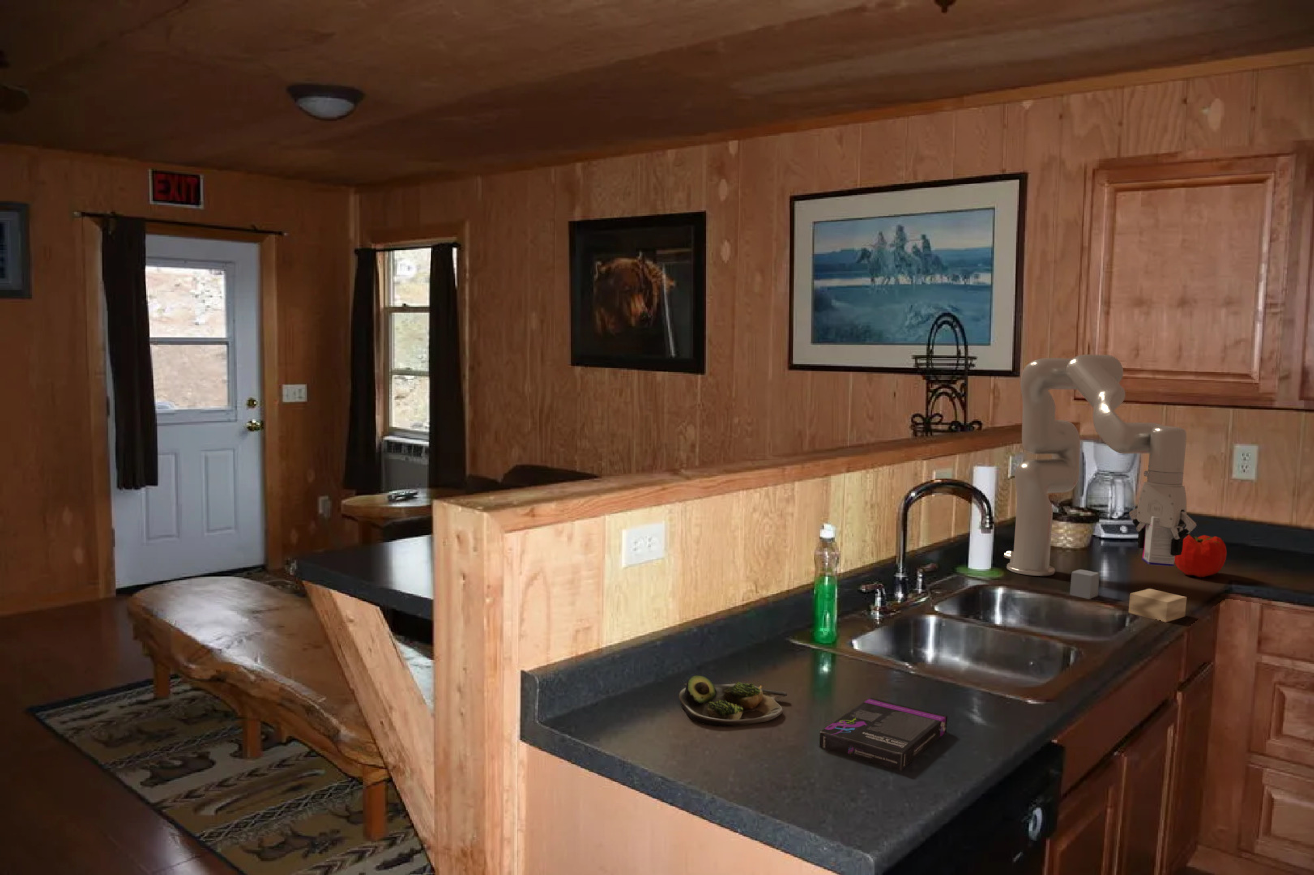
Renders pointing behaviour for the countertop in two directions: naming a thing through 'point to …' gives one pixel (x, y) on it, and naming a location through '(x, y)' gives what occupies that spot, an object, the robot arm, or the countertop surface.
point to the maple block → (1157, 605)
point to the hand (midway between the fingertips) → (1159, 550)
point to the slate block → (1084, 584)
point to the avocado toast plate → (727, 702)
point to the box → (884, 733)
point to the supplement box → (1157, 544)
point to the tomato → (1201, 556)
